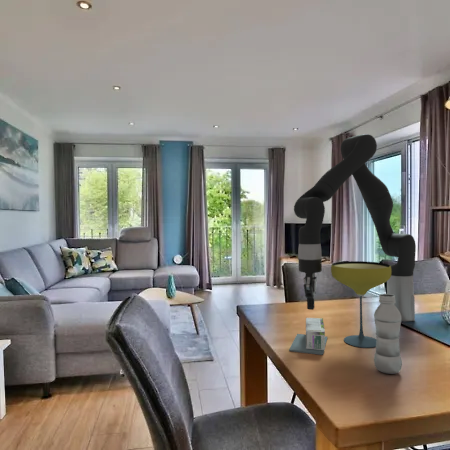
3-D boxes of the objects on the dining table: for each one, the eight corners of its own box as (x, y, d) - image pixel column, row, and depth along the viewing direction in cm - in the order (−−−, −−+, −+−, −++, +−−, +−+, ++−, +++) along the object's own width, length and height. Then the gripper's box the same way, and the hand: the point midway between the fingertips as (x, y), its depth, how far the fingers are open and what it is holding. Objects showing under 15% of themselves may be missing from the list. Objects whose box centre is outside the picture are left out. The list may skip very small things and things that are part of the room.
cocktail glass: (370, 330, 123) (369, 260, 123) (405, 349, 105) (404, 267, 105) (322, 334, 120) (321, 262, 120) (350, 355, 102) (348, 270, 102)
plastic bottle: (369, 367, 94) (368, 293, 94) (393, 365, 95) (392, 292, 94) (382, 378, 88) (381, 298, 87) (407, 376, 88) (406, 297, 88)
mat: (327, 338, 117) (327, 336, 117) (323, 355, 103) (322, 353, 103) (297, 335, 120) (297, 333, 120) (289, 351, 106) (289, 349, 106)
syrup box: (322, 334, 119) (326, 350, 105) (305, 333, 120) (306, 349, 106) (322, 318, 119) (325, 331, 105) (305, 317, 120) (305, 330, 106)
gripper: (319, 260, 109) (320, 315, 109) (323, 255, 121) (324, 304, 121) (295, 259, 111) (296, 313, 112) (301, 254, 124) (302, 303, 124)
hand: (310, 308), depth 117 cm, fingers closed
